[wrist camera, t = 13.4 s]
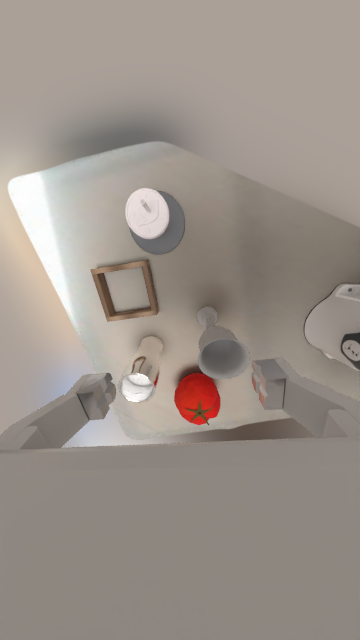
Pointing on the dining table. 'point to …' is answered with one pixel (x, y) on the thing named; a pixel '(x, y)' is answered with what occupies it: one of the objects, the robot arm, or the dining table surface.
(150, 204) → the smoothie
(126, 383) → the beer glass
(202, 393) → the tomato
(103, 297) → the wooden serving tray
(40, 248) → the dining table surface
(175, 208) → the disc
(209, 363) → the chalice
